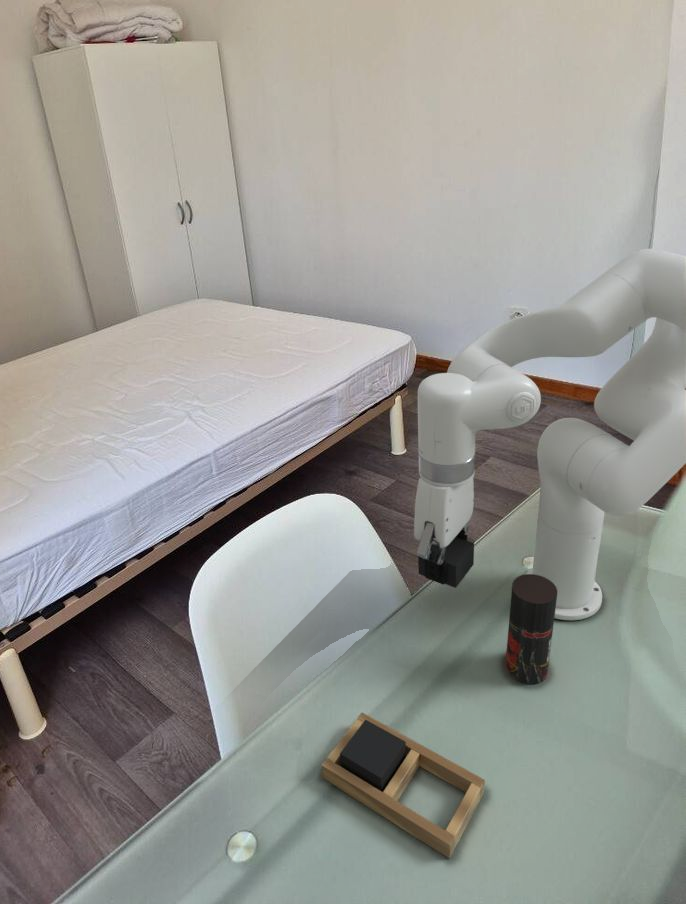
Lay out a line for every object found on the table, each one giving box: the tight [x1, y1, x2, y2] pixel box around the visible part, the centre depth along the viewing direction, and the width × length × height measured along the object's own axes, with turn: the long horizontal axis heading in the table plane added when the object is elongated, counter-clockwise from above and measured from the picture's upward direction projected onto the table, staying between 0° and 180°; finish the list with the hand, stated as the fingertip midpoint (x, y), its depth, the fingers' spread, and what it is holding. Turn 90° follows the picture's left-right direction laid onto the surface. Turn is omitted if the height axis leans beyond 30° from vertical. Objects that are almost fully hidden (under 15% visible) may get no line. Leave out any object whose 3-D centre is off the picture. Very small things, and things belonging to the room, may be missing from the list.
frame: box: [321, 712, 486, 859], centre depth 85 cm, size 9×18×2 cm, turn 53°
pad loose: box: [417, 536, 475, 589], centre depth 101 cm, size 6×6×4 cm
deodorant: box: [504, 573, 557, 686], centre depth 97 cm, size 6×6×15 cm
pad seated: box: [340, 720, 406, 792], centre depth 87 cm, size 6×6×4 cm
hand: (446, 566), depth 101 cm, fingers closed on pad loose, 6 cm apart
